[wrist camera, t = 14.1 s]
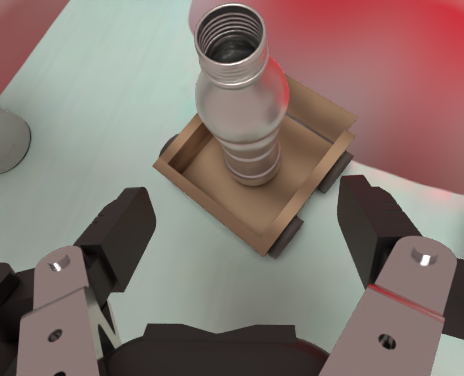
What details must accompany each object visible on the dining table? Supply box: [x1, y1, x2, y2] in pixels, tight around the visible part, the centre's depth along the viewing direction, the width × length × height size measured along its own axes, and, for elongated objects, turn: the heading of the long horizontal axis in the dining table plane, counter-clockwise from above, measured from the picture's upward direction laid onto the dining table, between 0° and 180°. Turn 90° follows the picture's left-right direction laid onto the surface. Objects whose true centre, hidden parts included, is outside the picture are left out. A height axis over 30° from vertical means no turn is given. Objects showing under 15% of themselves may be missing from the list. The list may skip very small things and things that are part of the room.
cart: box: [153, 74, 357, 259], centre depth 31 cm, size 20×17×6 cm
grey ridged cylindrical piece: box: [194, 3, 289, 186], centre depth 23 cm, size 6×7×20 cm
